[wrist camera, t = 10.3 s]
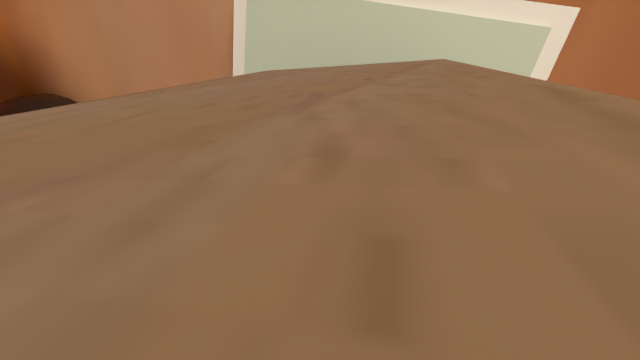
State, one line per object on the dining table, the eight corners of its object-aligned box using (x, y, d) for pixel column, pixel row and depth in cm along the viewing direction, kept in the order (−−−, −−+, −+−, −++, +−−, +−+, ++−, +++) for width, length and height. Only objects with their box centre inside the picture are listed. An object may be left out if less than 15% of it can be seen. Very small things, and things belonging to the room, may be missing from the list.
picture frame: (249, 203, 28) (227, 225, 24) (260, -25, 20) (231, -41, 16) (444, 254, 25) (452, 287, 22) (546, 15, 17) (585, 7, 14)
